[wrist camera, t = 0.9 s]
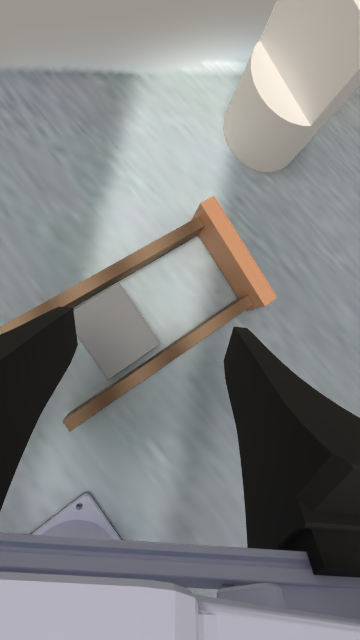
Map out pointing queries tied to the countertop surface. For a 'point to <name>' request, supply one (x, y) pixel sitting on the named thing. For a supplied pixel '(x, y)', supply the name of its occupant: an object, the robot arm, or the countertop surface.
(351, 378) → the countertop surface
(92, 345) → the block
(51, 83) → the countertop surface
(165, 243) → the rail lane
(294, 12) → the base with upright slab
